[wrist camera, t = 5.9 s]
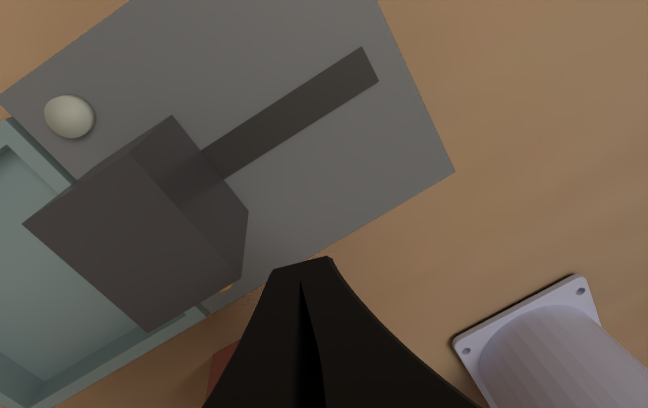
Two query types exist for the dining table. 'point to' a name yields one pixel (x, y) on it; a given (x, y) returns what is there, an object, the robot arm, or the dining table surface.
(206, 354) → the dining table surface
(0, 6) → the dining table surface
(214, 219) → the switch
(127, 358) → the tray
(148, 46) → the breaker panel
